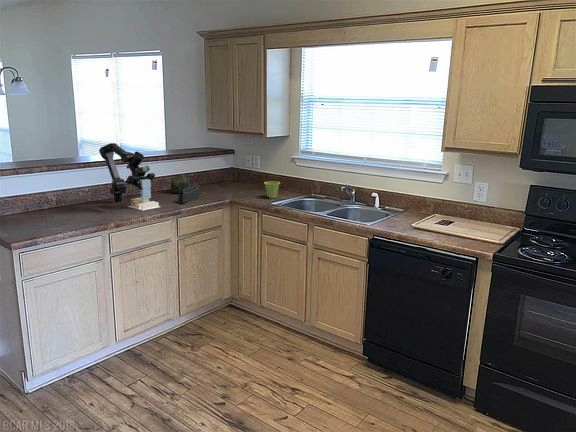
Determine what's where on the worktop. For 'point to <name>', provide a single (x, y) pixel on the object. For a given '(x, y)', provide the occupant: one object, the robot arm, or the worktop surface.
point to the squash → (179, 183)
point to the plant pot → (272, 189)
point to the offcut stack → (138, 201)
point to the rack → (146, 205)
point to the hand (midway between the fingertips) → (146, 189)
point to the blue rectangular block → (145, 189)
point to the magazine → (189, 193)
